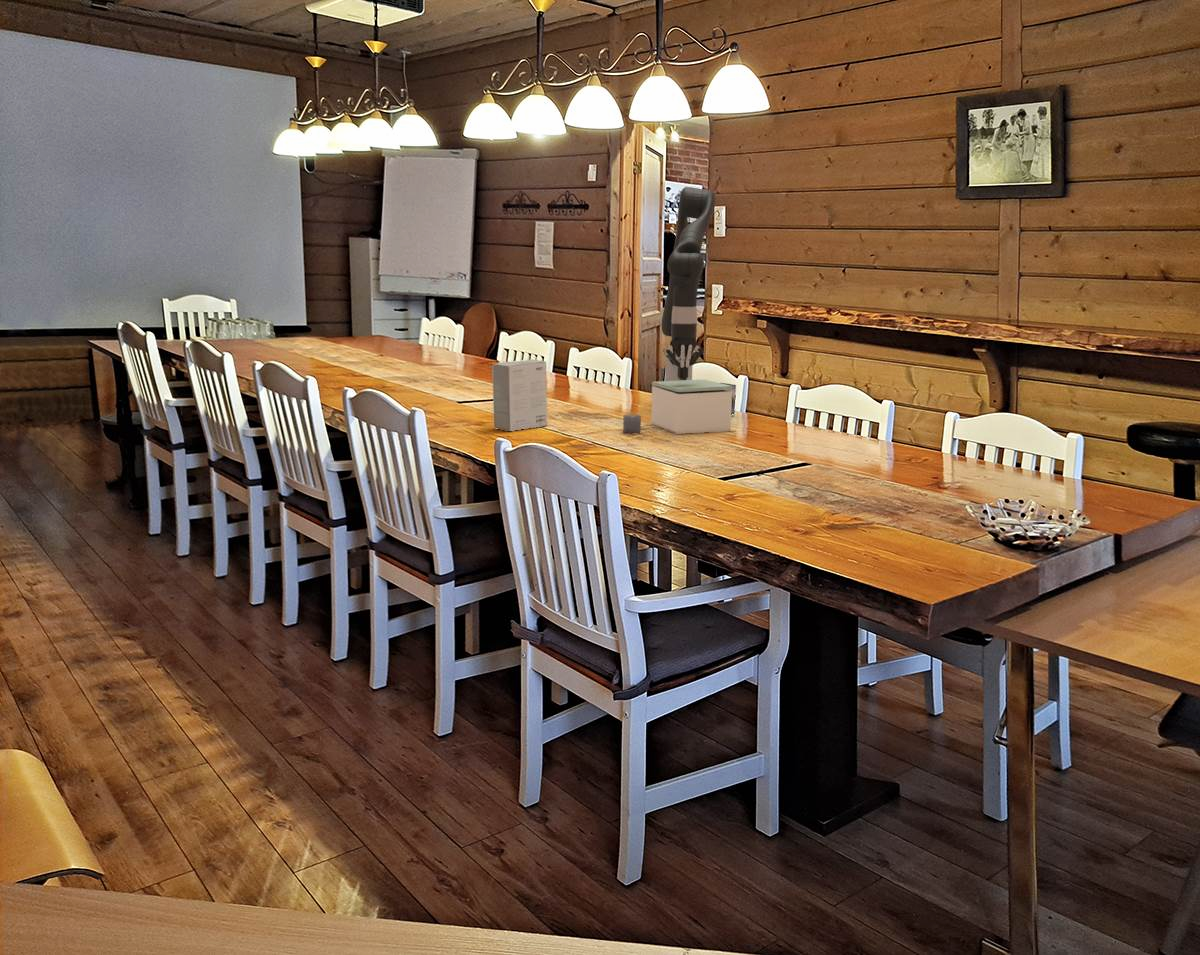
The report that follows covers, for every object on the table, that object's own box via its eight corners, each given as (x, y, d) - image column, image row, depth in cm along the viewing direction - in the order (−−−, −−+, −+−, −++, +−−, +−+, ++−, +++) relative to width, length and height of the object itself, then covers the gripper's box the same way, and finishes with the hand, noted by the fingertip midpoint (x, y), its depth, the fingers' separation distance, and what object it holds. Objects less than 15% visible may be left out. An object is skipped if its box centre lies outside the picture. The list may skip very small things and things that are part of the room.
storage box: (651, 424, 329) (652, 386, 327) (702, 421, 336) (704, 383, 333) (676, 434, 313) (678, 394, 310) (730, 431, 320) (732, 391, 317)
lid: (652, 385, 327) (652, 381, 326) (704, 382, 333) (704, 379, 333) (678, 392, 310) (678, 388, 310) (732, 389, 317) (732, 386, 317)
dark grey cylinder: (620, 431, 318) (620, 414, 317) (636, 430, 320) (636, 413, 318) (627, 434, 313) (627, 417, 312) (643, 433, 315) (643, 416, 314)
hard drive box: (531, 423, 330) (531, 359, 325) (548, 426, 324) (547, 361, 320) (492, 429, 319) (491, 362, 315) (508, 432, 314) (508, 365, 309)
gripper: (697, 320, 321) (696, 377, 324) (658, 321, 315) (657, 379, 319) (709, 322, 314) (708, 380, 318) (670, 323, 309) (668, 382, 313)
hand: (682, 379), depth 319 cm, fingers closed
